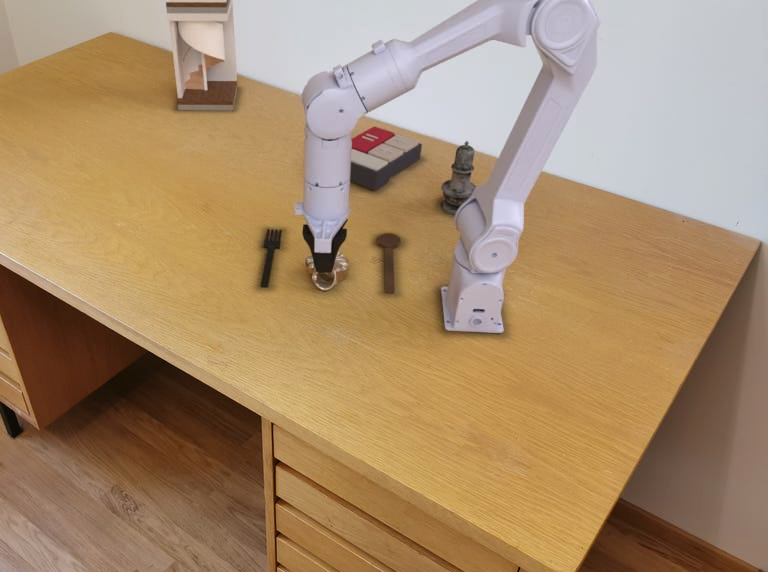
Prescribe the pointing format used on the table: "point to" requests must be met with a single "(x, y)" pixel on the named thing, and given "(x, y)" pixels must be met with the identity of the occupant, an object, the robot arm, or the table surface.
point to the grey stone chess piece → (459, 180)
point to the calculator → (381, 157)
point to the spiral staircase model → (203, 53)
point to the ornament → (336, 275)
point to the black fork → (270, 254)
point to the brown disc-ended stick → (389, 258)
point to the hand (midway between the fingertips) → (324, 266)
